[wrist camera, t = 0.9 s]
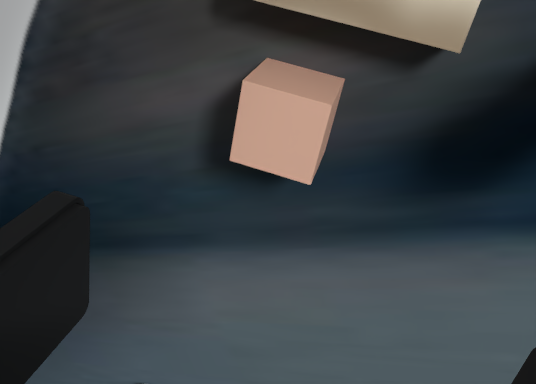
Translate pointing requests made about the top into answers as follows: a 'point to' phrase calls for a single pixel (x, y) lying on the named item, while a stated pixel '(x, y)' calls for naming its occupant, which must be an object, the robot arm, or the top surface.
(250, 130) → the terracotta cube
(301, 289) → the top surface
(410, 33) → the maple block
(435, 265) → the top surface
